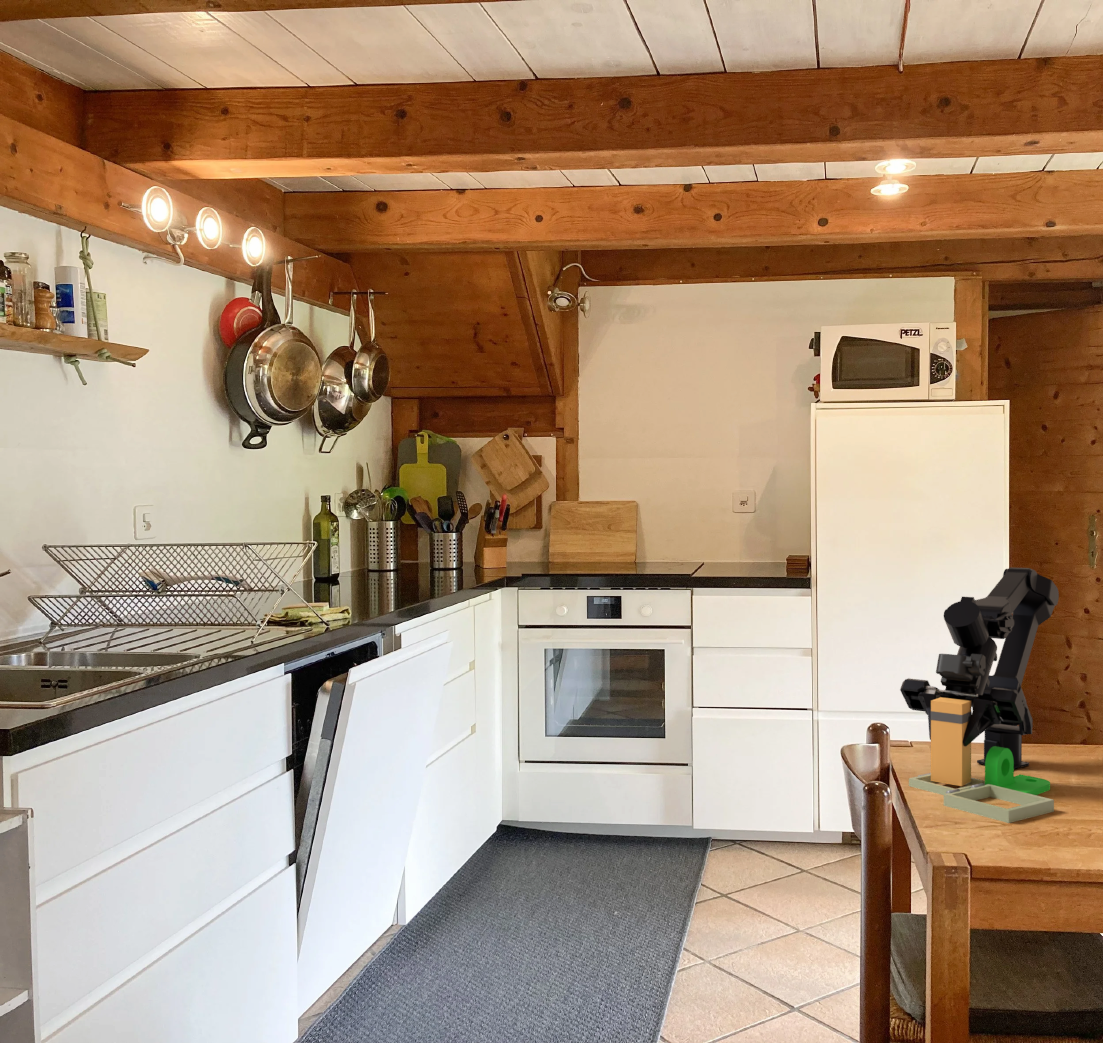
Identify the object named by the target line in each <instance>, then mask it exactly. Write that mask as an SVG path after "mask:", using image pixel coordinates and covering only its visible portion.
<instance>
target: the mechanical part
mask: <svg viewBox="0 0 1103 1043" xmlns="http://www.w3.org/2000/svg"><path fill="white" fill-rule="evenodd" d="M1014 770H1015V769H1014V760H1013V755H1012V752H1011V751H1010V749H1008V748H1002V747H996V746H993V747H991V748H990V750H989V751H988V753H987V756H986V760H985V765H984V781H985V785H987V784H991V785H995V786H999V787H1003V788H1007V789H1012V790H1016V791H1020V792H1024V793H1028V794H1032V795H1036V796H1039V795H1040V794H1043V793H1046V792H1049V791H1050V790H1051V782H1050V780H1048V779H1045V778H1042V777H1041V778H1040V777H1036V776H1030V775H1026V774H1021V773H1020V774H1017V775H1014V774H1015V773H1014V772H1015V771H1014Z"/></svg>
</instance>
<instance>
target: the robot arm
mask: <svg viewBox="0 0 1103 1043" xmlns="http://www.w3.org/2000/svg"><path fill="white" fill-rule="evenodd" d="M1059 597H1060V594H1059V589H1058V587H1057V585H1056V583H1054V581H1053V580H1052V579H1050V578H1047V577H1046V576H1044V575H1041V574H1039V573H1037V570H1035V569H1032V568H1030V567H1008V568H1005V569H1004V570H1003V574H1002V576H1001V579H1000V580H999V581H998V582H997V583H996V584H995V586H994V587H993V588H992V589H991V591H990V592H989V593H988V595H987V596H985V597H982V598H979V599H975V597H974V596H961V597H960V598H961V599H960V600H959V601H957V602H954V603H953V604H949V606H947V608H946V609H945V610H944V612H943V620H944V622H945V625H946V627H947V629H948V631H949V634H950V637H951V639H952V641H953V644H955V645H956V646H958V652H957V654H951V653H939V654H938V656H937V657H938V658H937V663H936V670H935V674H936V675H939V676H940V677H941V679H940V683H941V686H943V687H944V686H945V689H939V688H938V687H936V686H932V685H931V684H930V682H929V680H927V679H917V678H910V677H908V678H905V679H904V680H903V681H902V684H901V686H900V689H899V691H900V693H901V695H902V696H903V699H904V701H905V704H906V705H907V706H908V708H909V709H911V710H912V711H917V712H925V715H927V721H928V735H929V741H931V700H934V699H937V698H940V697H942V698H951V699H960V700H968V701H971V710H972V715H971V717H970V720H969V723H968V725H967V728H966V730H965V733H964V738H963V745H964V746H967V745H969V744H970V743H971V744H972V742H973V741H974V740H975V739H976V738H978V737H979V736H980V735H981V734H983V733H984V739H983V758H982V759H977V760H976V763H977V764H981V765H984V766H985V760H986V756H987V753H988V751H989V750H990V748H991V747H993V746H996V747H1002V748H1008V749H1010V751H1011V752H1012V755H1013V760H1014V770H1015V769H1019V768H1024V767H1029V766H1030V762H1028V761H1023V760H1022V758H1023V757H1022V756H1023V752H1022V748H1023V747H1022V746H1023V745H1022V744H1023V742H1022V741H1023V740H1022V739H1023V738H1022V736H1025V735H1033V721H1034V720H1033V717H1032V714H1031V711H1030V710H1029V706H1028V704H1027V699H1026V697H1025V694H1024V691H1023V689H1022V684H1023V679H1024V676H1025V673H1026V669H1027V666H1028V663H1029V659H1030V656H1031V652H1032V649H1033V645H1034V643H1035V642H1034V641H1035V638H1036V636H1037V635H1036V634H1037V631H1038V628H1039V626H1040V625H1041V624H1043V623H1044V622H1046V621H1047V620H1048V619H1050V618H1051V616H1052V614H1053V611H1054V609H1055V606H1058V603H1059V599H1060V598H1059ZM994 639H996V640H997V639H999V640H1004V642H1003V645H1002V647H1001V648H1002V649H1001V651H1000V654H999V657H998V654H997V651H998V646H997V643H996V641H995V640H994ZM998 658H999V659H998ZM994 662H997V665H996V667H995V671H994V674H992V675H990V672H991V670H992V667H993V663H994Z"/></svg>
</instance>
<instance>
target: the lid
mask: <svg viewBox="0 0 1103 1043" xmlns="http://www.w3.org/2000/svg"><path fill="white" fill-rule="evenodd" d="M927 774H928V773H927ZM922 775H923V774H922ZM981 783H983V784H984V785H985V779H984V780H983V779H978V778H975V777H971V782H969V783H967V784H965V785H964V786H961V787H958V788H957V787H956V789H960V790H964V789H969V788H971V786H972V785H977V784H981ZM908 786H909V787H911V788H915V789H918V790H922V791H927V792H930V793H933V794H938V795H942V796H944V794H946V791H949V790H954V789H955V788H953V787H950V786H945V785H941V784H938V783H935V782H934V781H931V774H928V775H923V776H918V775H917V776H913V777H909V778H908Z"/></svg>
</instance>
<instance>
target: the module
mask: <svg viewBox="0 0 1103 1043" xmlns="http://www.w3.org/2000/svg"><path fill="white" fill-rule="evenodd" d="M972 712H973V710H972V707H971V701H968V700H960V699H951V698H942V697H940V698H937V699H934V700H931V740H930V773H931V781H934V783H940V784H947V785H952V786H959V787H964V786H966V785H965V784H967V783H969V782H971V778H972V742H971V743H970V744H969V745H967V746H964V745H963V738H964V733H965V730H966V728H967V725H968V723H969V720H970V717H971V715H972Z"/></svg>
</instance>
